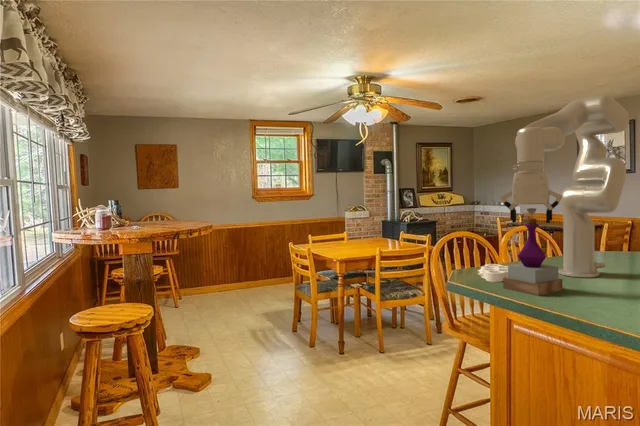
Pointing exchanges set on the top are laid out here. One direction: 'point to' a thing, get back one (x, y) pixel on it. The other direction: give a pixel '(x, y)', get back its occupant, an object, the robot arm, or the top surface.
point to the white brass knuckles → (493, 272)
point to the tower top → (533, 273)
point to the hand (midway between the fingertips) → (530, 222)
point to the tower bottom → (532, 286)
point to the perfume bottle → (531, 245)
